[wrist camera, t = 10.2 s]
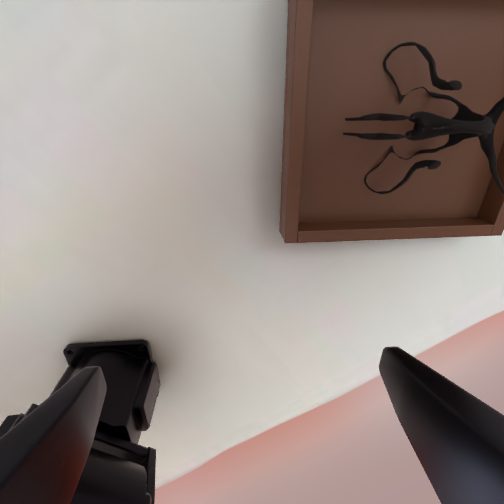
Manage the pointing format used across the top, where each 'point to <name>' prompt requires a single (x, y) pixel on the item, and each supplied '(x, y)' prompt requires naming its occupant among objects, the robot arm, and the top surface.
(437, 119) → the creature
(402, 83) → the tray
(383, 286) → the top surface
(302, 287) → the top surface
